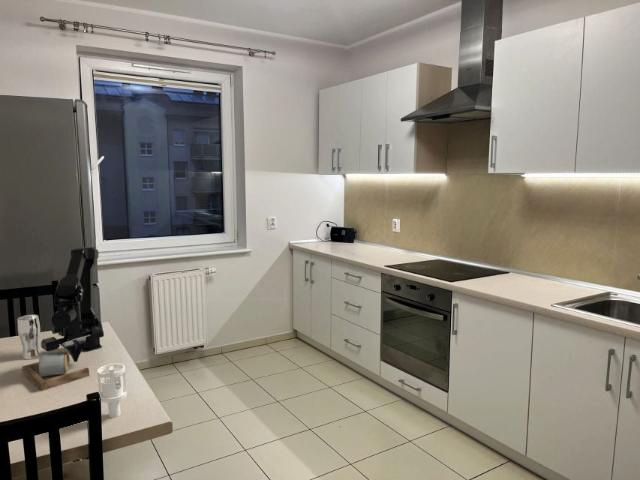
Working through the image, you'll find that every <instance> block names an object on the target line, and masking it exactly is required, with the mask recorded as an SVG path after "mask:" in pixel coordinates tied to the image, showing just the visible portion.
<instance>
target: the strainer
mask: <svg viewBox="0 0 640 480" xmlns="http://www.w3.org/2000/svg"><path fill="white" fill-rule="evenodd" d="M117 368H118V369H120V370H117V371H115V369H117ZM105 370H108V372H107V373H105V372H104V371H105ZM96 371H97V383H98V384H97V385H98V395H99V394H100V397H101V401H100V402H101V403H104V404H105V403H106V404H107V411H108V417H109V418H111V417H112V419H113V418H117V417H120V415H121V403H120V402H121V400H123V399H125V398H126V397H127V396H128V392H127V391H128V390H127V380H126V365H124V364H123V363H109V364H105V365H103V366H101V367H98V369H97V370H96Z"/></svg>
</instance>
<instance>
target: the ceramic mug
mask: <svg viewBox="0 0 640 480" xmlns="http://www.w3.org/2000/svg"><path fill="white" fill-rule="evenodd" d="M68 355H69V353H68V352H62V351H59V352H44V353H43V352H41V355H40V356H39V357H38V362H39V371H38V375H39V376H40V377H41V378H43V377H51V376H55V375H58V376H59V375H64V374H67V372H68V370H69V360H70V358H69V359H68Z"/></svg>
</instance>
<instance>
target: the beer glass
mask: <svg viewBox="0 0 640 480" xmlns="http://www.w3.org/2000/svg"><path fill="white" fill-rule="evenodd" d="M17 332H18V337H19V340H20V344H21V346H22V353H21V354H22V359H23V360H32V359H36V358H39V357H40V355H41V353H42V351H41V348H40V337H41V324H40V318H39V315H38V314H26V315H23V316H20V317H17Z"/></svg>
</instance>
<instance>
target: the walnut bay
mask: <svg viewBox="0 0 640 480" xmlns="http://www.w3.org/2000/svg"><path fill="white" fill-rule="evenodd" d="M68 359H69V362H70V354H68ZM21 368H22V374H23V375H24V376H25V377H26V378H27V379H29V381H31V383H33V384H34V385H35V386H36V387H37V388H38V389H39V390H41V392H42V391H46V390H49V389H51V388H56V387H59V386H62V385H64V384H68V383H71V382H74V381H77V380H81V379H84V378H87V377H90V369H89V367H84V368H82V369H78V370H74V371H71V372H68V373H67V372H66V373H63V374H60V375H58V376H55V377H51V378H48V379H44V378H43V377H41V376H40V375H39V373H37V372H39V361H36V362H33V363H29V364H27V365H22V366H21Z"/></svg>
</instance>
